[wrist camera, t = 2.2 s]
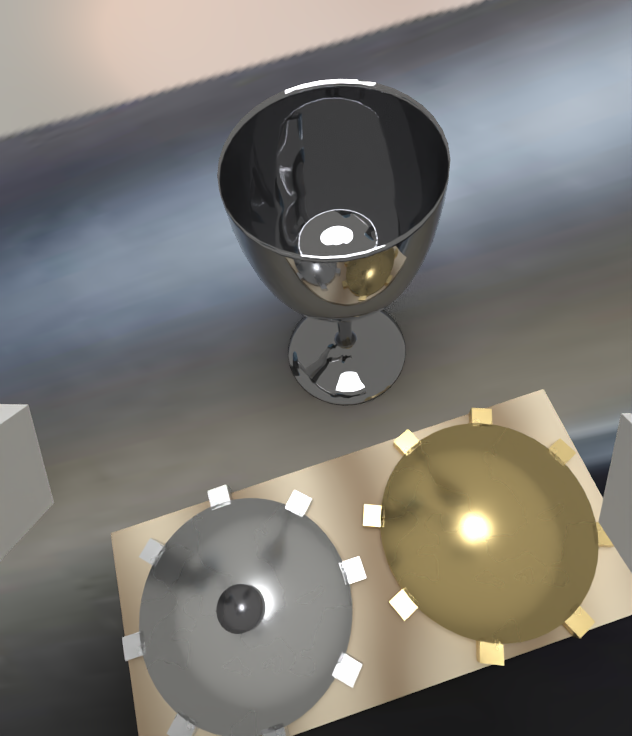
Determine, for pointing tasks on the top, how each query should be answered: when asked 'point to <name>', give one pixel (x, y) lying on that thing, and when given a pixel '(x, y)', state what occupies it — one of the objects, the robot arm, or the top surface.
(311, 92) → the wine glass
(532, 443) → the gear board
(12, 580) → the top surface
